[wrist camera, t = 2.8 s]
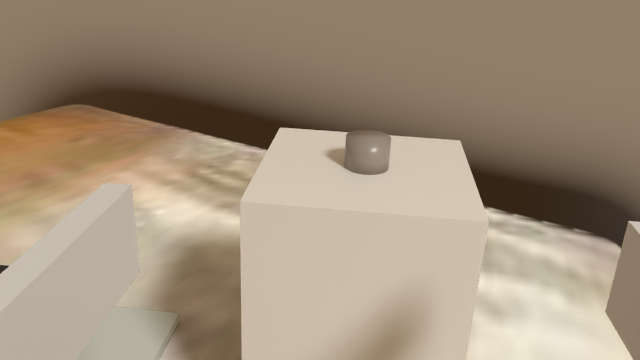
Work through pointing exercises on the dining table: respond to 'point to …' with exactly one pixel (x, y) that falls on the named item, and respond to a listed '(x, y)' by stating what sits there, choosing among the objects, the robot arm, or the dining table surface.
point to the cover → (360, 248)
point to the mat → (131, 335)
